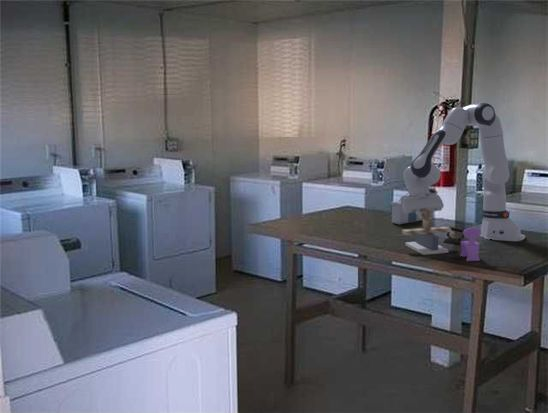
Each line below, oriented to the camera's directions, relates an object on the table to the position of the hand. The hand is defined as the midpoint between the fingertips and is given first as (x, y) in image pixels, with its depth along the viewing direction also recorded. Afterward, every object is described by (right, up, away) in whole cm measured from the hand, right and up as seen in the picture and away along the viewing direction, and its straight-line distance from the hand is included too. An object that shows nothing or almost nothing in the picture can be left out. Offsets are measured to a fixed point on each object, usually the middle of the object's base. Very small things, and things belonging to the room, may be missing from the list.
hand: (427, 217), depth 297 cm
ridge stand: (0, -15, +3) cm, 16 cm away
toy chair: (+15, -18, -16) cm, 29 cm away
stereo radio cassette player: (+5, -4, +69) cm, 70 cm away
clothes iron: (+18, -13, +14) cm, 27 cm away
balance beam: (0, -7, +2) cm, 8 cm away
